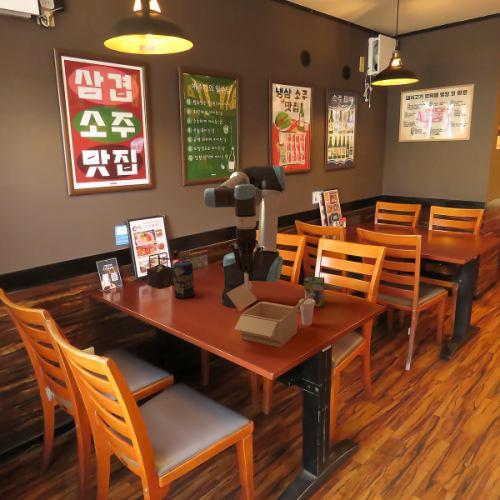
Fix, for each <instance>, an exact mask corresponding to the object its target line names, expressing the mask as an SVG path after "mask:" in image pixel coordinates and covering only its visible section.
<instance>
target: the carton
mask: <svg viewBox="0 0 500 500" xmlns="http://www.w3.org/2000/svg"><path fill="white" fill-rule="evenodd" d="M292 309H293V308H292V307H286V306H280V305H274V304H268V303H262V301H259V302H258V303H256V304H254V305H253V306H252V307H249V308H248V309H246V310H245V311H244V312H242V313H240V316H241V315H243V316H248V317H253V318H259V319H264V320H269V321H274V322H277V325H276V328H275V330H274V332H273V335H272V337H267V336H262V335H257V334H253V333H248V332H243V331H241V339H242V340H244V341H249V342H253V343H256V344H257V343H258V344H261V345H267V346H271V347H276V348H281V349H282V347H284V346H285V345H286V344H287V343H288V342H289V341H290V340H291V339H292V338H294V336H295V335H297V333H298V314H297V313H298V312H297V309H296V310H295V311H294V312H292V313H291V314H290V315H289V316H287V317H286V318H285V319H283V318H284V317H285V316H286V315H287V314H288V313H289V312H290V311H291V310H292Z"/></svg>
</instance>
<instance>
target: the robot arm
mask: <svg viewBox="0 0 500 500" xmlns="http://www.w3.org/2000/svg"><path fill="white" fill-rule="evenodd" d="M285 191H287V178H286V173H285V169H284V167H283V166H281V165H274V164H273V165H252V166H246V167H243V168H241V169H238V170H236V171H235V172H233V173H232V174H231V175H230V177H229V179H227V180H226V181H224V182H223V183H221V184H220V185H219V186H217V187H211V188H210V187H209V188H206V189H205V190H204V193H203V200H204V205H205V206H206V207H207V208H213V209H216V208H234V210H235V211H234V212H235V213H234V214H235V227H236V228H235V237H236V240H235V243H233V244H231V245H230V248H231V250H232V252H230V253H228V254H227V253H226V255H224V257H223V264H222V266H223V267H222V268H223V282H224V283H223V284H224V285H223V290H222V293H221V296H220V299H221V301H220V302H221V304H222V305H223V306H225V307H230V308H237V307H236V306H235V304H234V303H233V302H232V300H231V299H230V298H229V296H228V295H227V294H226V293H228V292H229V291H231V290H233V289H235V288H237V287H239V286H241V285H242V284H245V290H249V289H250V290H251V292H252V293H253V291H252V288H253V287H252V282H264V283H265V282H267V283H269V282H270V283H272V282H273V283H275V282H277V281H279V279H280V277H281V274H282V270H283V262H284V261H283V260H284V258H283V257H282V255H280V251H279V250H278V249H277V243H278V242H277V241H278V225H279V224H278V221H279V202H280V198H281V197H282V196H283V192H285ZM258 206H259V214H258V215H259V216H258V217H259V218H258V230H257V207H258ZM257 232H258V233H257Z"/></svg>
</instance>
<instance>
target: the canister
mask: <svg viewBox="0 0 500 500" xmlns="http://www.w3.org/2000/svg"><path fill="white" fill-rule="evenodd" d="M193 265H194V264H193V262H192V261H190V260H178V261H175V262H173V264H172V268H173V275H174V284H173V286H174V287H173V288H174V295H175V297H177V298H180V299H181V298H182V299H184V298H190V297H192V296H194V295H195V281H194V266H193Z"/></svg>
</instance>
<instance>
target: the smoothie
mask: <svg viewBox="0 0 500 500" xmlns="http://www.w3.org/2000/svg"><path fill="white" fill-rule="evenodd" d="M305 298H306V290H305ZM303 299H304V298H301V299H299V300H298V303H299V302H301V301H302V300H303ZM314 305H315V300H313V299H307V300H306V301H305V302H304V303H303V304H302V305H301V306H300V307H299V310H300V311H301V312H300V313H301V314H300V315H301V322H302V325H303V326H312V325H313V324H312V323H313V317H314V309H315V307H314Z"/></svg>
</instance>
